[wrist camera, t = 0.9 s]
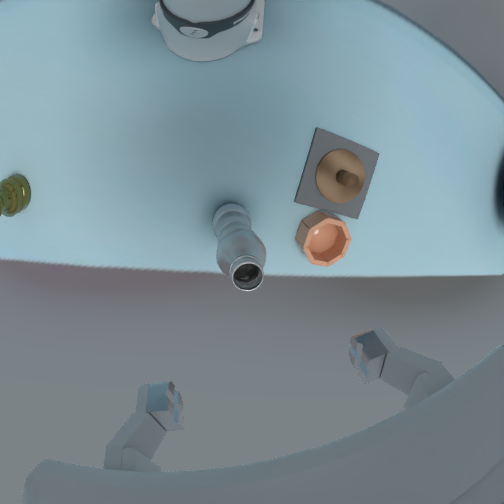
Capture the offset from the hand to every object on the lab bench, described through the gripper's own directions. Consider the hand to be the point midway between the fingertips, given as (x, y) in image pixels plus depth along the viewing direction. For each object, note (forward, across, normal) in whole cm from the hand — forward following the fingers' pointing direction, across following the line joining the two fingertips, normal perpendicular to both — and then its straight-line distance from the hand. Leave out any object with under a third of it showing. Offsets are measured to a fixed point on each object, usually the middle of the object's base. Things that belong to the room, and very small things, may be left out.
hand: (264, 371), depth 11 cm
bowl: (+38, -17, +13) cm, 43 cm away
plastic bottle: (+38, -1, +6) cm, 39 cm away
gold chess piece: (+38, +39, -11) cm, 56 cm away
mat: (+38, -22, +2) cm, 44 cm away
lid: (+37, -22, +2) cm, 43 cm away
